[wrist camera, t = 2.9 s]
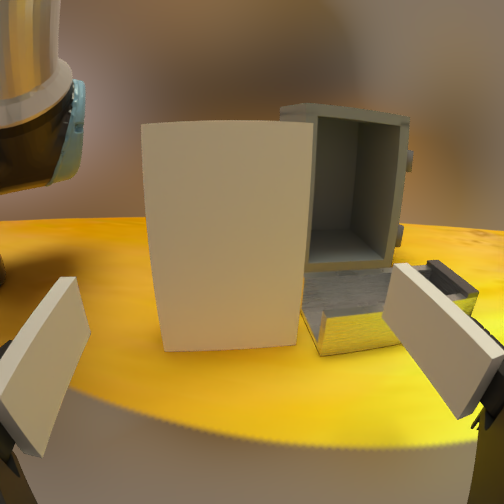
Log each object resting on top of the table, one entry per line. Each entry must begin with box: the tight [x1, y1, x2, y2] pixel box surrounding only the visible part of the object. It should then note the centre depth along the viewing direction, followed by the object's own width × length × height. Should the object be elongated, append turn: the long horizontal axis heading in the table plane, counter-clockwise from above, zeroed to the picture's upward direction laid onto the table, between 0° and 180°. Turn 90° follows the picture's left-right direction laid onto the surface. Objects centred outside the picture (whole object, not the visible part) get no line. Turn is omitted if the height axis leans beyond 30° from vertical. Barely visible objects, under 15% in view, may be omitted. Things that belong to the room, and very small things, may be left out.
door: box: [141, 120, 313, 352], centre depth 22 cm, size 10×4×16 cm, turn 97°
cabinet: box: [280, 103, 413, 273], centre depth 38 cm, size 13×12×18 cm
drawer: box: [300, 260, 479, 356], centre depth 26 cm, size 15×7×4 cm, turn 97°
